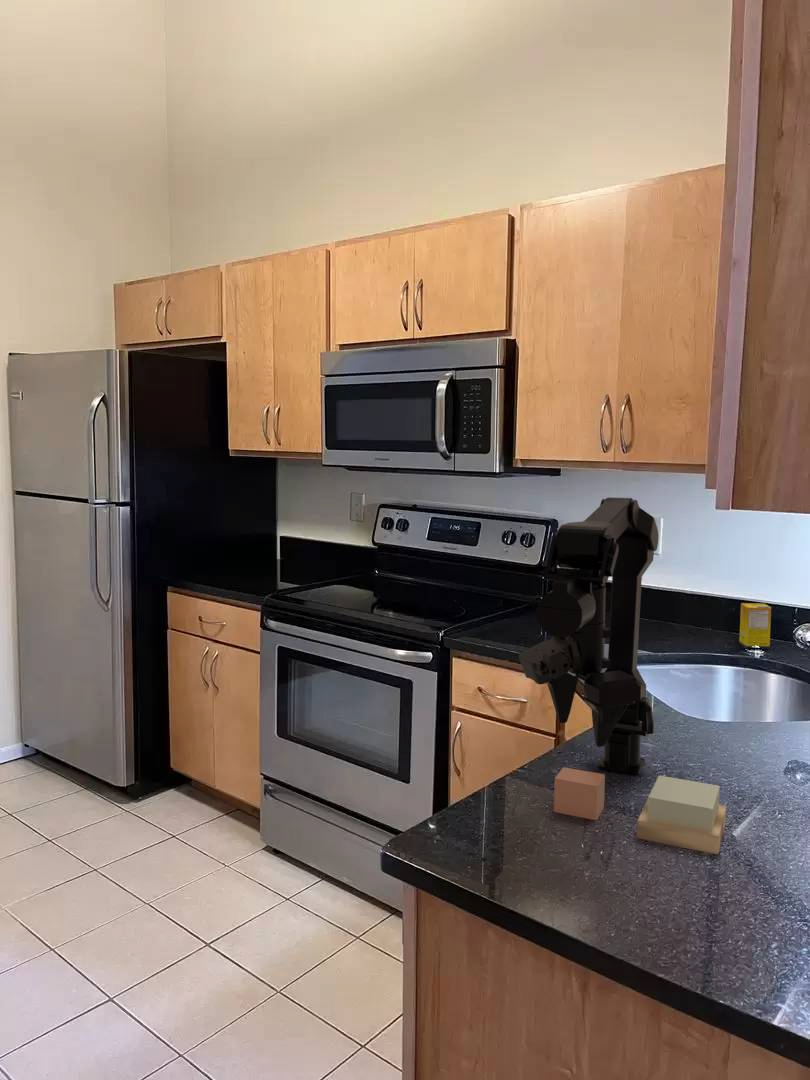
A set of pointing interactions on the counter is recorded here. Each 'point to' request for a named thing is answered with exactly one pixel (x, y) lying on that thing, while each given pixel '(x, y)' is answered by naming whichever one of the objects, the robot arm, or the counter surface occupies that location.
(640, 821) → the tower base
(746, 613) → the supplement box
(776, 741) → the counter surface
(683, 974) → the counter surface
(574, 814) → the terracotta brick
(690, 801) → the tower top
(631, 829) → the counter surface
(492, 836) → the counter surface
